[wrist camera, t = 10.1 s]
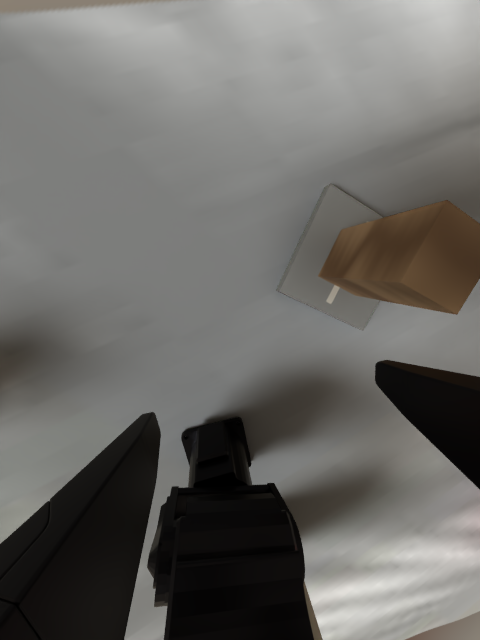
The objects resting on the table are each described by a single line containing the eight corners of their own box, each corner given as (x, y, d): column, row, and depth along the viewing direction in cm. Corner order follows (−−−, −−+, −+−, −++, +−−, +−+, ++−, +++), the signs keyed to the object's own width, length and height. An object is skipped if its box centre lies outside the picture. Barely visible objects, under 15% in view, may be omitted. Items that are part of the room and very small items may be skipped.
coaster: (356, 328, 24) (363, 330, 22) (276, 290, 21) (279, 291, 20) (405, 238, 22) (415, 237, 21) (324, 187, 20) (331, 183, 19)
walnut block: (355, 295, 21) (457, 314, 13) (317, 276, 20) (400, 282, 12) (378, 252, 21) (502, 240, 12) (341, 229, 20) (447, 200, 11)
